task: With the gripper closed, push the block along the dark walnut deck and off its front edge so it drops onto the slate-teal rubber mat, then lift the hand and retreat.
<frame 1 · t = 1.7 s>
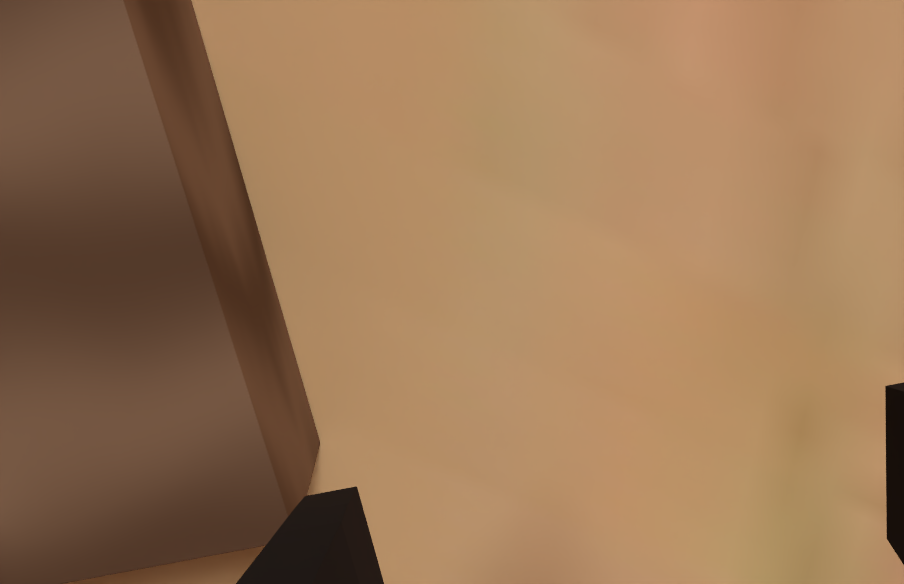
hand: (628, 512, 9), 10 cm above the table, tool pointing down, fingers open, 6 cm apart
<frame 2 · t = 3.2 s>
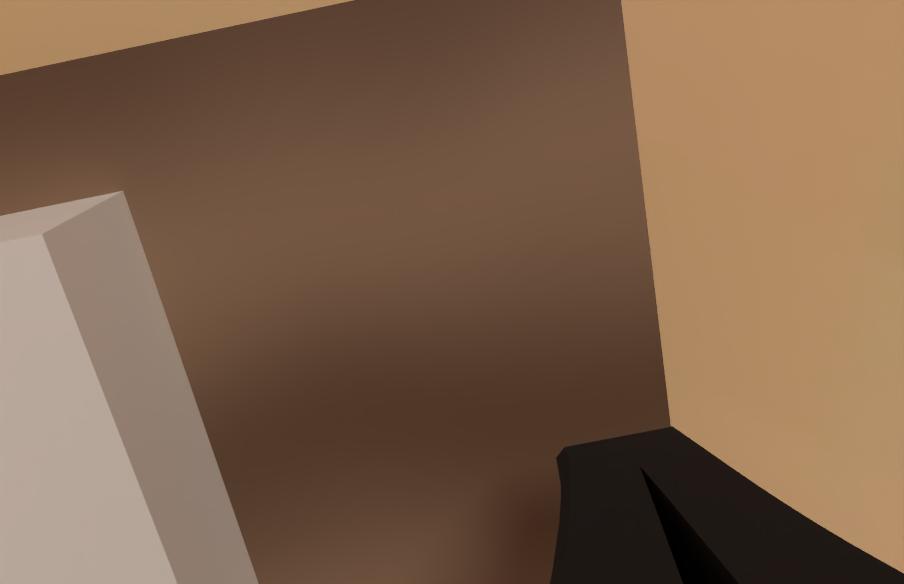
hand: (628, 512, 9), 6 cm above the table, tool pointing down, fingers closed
walnut deck: (128, 413, 14), on the table
block: (21, 552, 10), point 4 cm above the table, touching walnut deck
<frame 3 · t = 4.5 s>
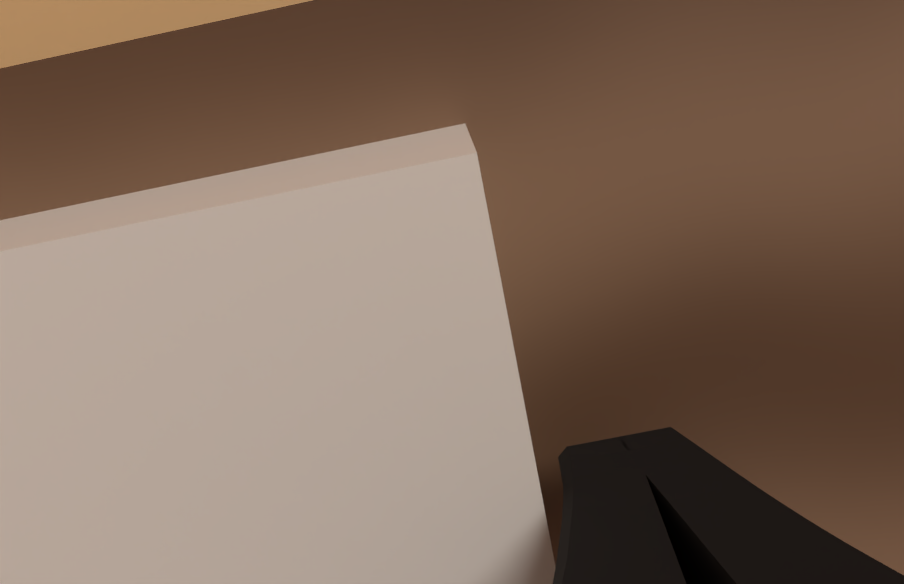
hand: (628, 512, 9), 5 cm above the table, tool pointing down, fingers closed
walnut deck: (368, 378, 13), on the table
block: (301, 523, 10), point 4 cm above the table, touching gripper, walnut deck
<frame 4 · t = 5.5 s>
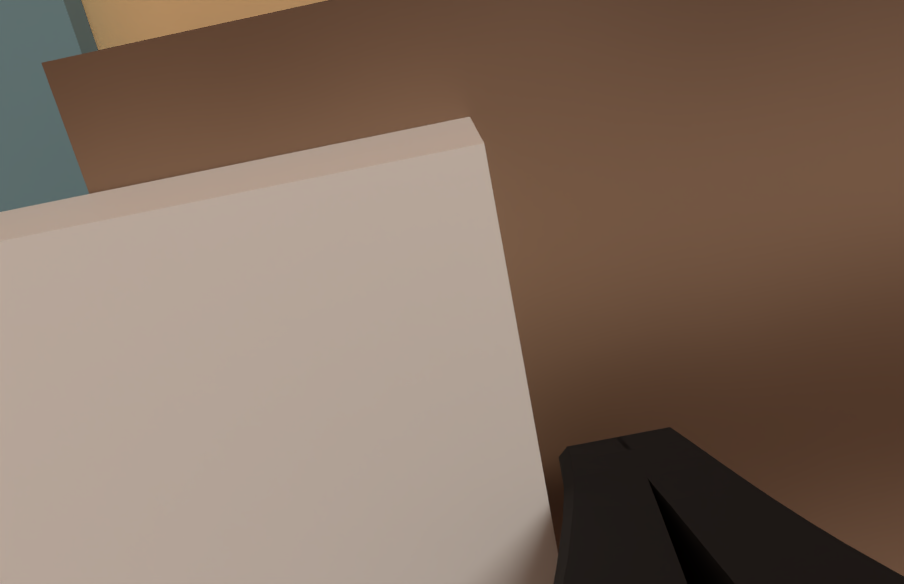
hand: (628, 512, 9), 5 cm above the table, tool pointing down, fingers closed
walnut deck: (779, 297, 13), on the table
block: (302, 518, 10), point 4 cm above the table, touching gripper
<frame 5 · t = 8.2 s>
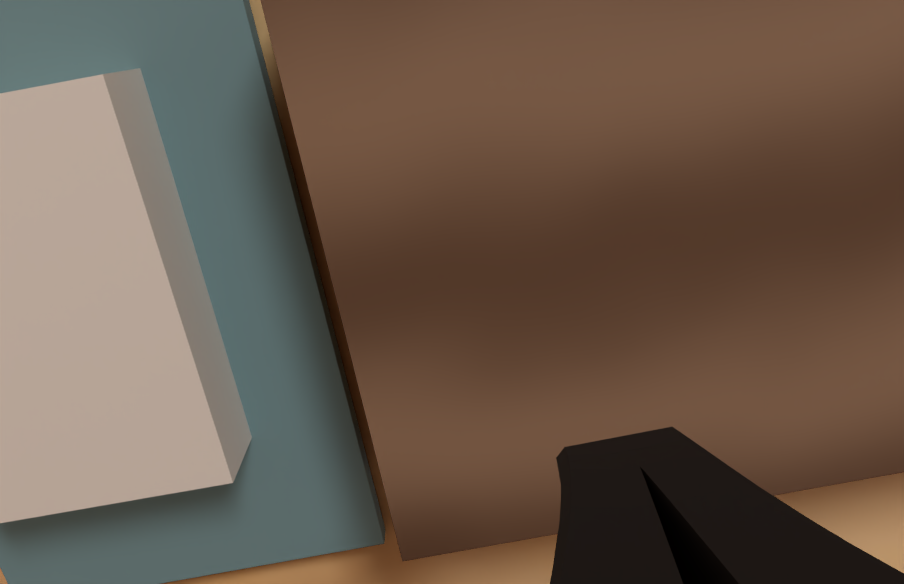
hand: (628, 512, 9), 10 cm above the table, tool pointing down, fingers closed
walnut deck: (731, 173, 18), on the table
block: (32, 323, 16), point 3 cm above the table, tilted 180°, touching mat
mat: (110, 291, 18), on the table
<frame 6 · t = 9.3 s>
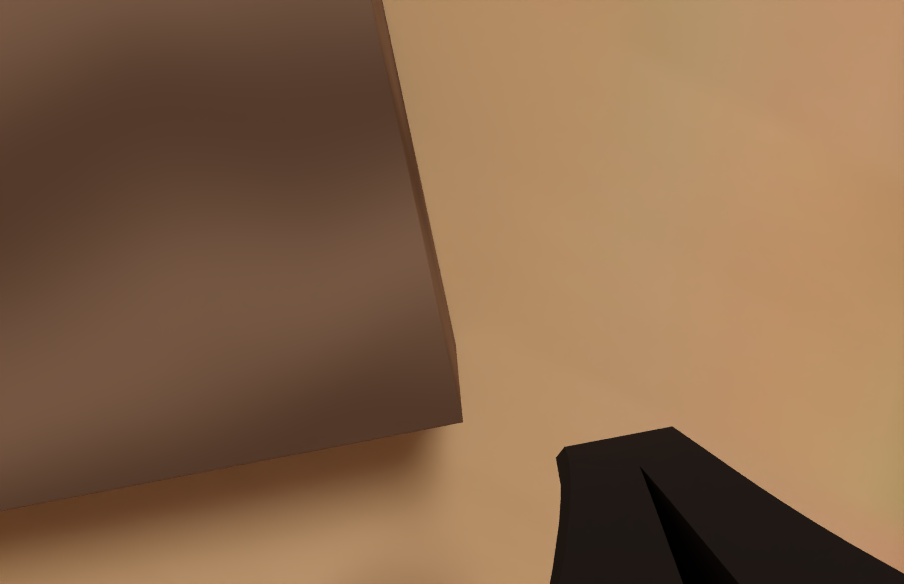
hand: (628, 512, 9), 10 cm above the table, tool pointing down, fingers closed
walnut deck: (19, 183, 18), on the table
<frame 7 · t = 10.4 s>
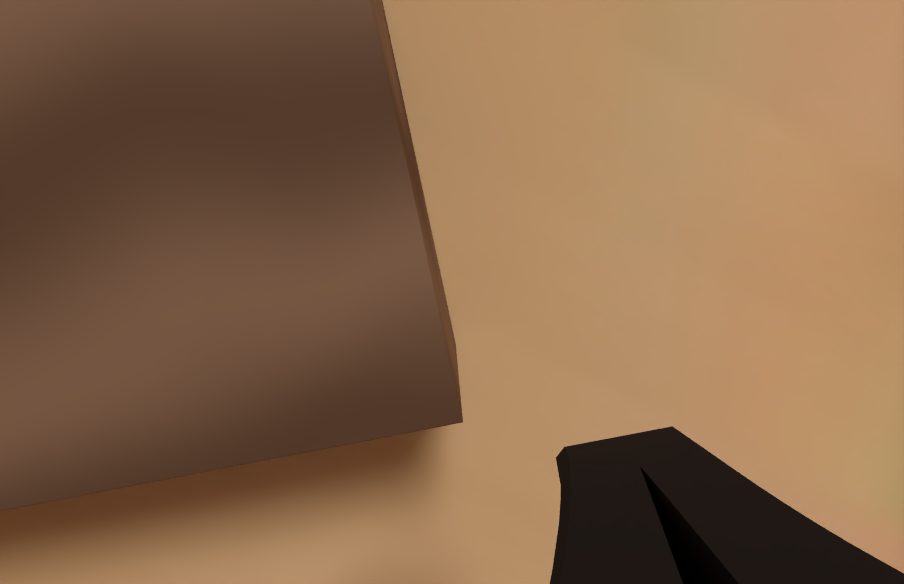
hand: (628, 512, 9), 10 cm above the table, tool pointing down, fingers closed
walnut deck: (19, 183, 18), on the table
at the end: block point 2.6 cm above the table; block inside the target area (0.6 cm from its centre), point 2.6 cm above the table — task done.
